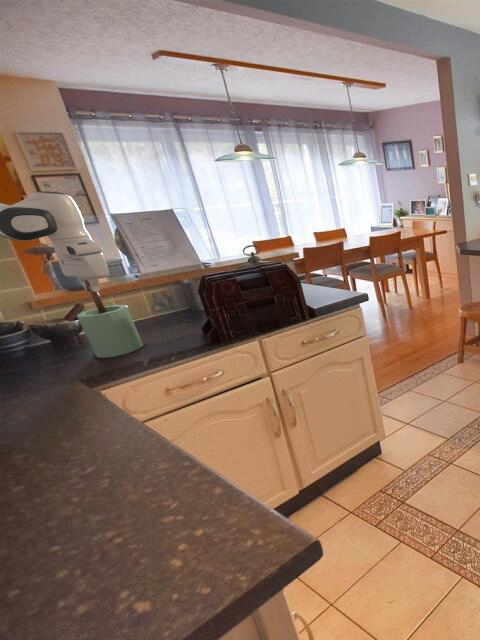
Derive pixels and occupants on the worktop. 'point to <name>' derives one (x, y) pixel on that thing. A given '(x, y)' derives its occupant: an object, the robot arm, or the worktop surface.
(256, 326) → the crate
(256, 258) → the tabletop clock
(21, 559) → the worktop surface
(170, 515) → the worktop surface
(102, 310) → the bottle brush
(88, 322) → the jar
